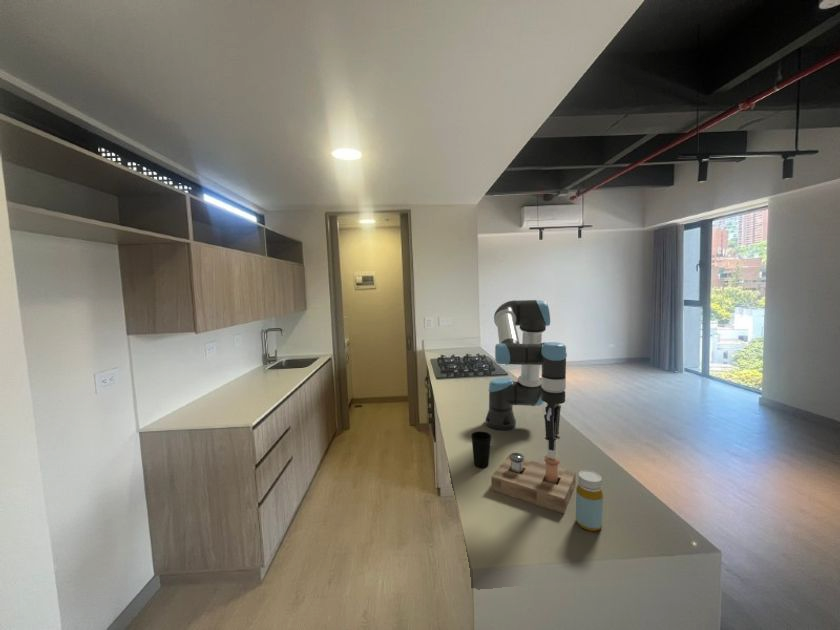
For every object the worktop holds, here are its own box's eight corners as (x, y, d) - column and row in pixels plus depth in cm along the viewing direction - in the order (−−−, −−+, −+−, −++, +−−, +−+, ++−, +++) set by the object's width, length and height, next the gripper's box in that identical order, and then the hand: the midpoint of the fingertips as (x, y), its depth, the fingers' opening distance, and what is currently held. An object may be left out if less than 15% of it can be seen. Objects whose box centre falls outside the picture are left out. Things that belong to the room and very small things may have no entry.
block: (509, 467, 137) (509, 454, 137) (575, 485, 124) (575, 472, 123) (491, 489, 122) (491, 476, 122) (564, 514, 109) (564, 498, 108)
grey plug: (512, 475, 130) (512, 451, 129) (525, 478, 127) (525, 454, 126) (508, 481, 126) (508, 457, 125) (521, 485, 123) (521, 460, 122)
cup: (476, 471, 135) (476, 440, 134) (468, 461, 142) (468, 432, 141) (494, 467, 137) (494, 438, 136) (485, 458, 144) (485, 430, 143)
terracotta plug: (546, 478, 123) (546, 453, 122) (560, 482, 120) (561, 457, 119) (542, 485, 119) (542, 459, 118) (557, 489, 116) (557, 463, 115)
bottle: (594, 516, 108) (595, 469, 106) (606, 532, 101) (608, 482, 99) (571, 516, 108) (572, 470, 106) (582, 533, 101) (584, 483, 99)
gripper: (546, 383, 124) (545, 447, 126) (536, 392, 113) (535, 463, 115) (569, 386, 120) (567, 452, 122) (560, 396, 109) (559, 469, 111)
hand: (552, 457), depth 118 cm, fingers closed
